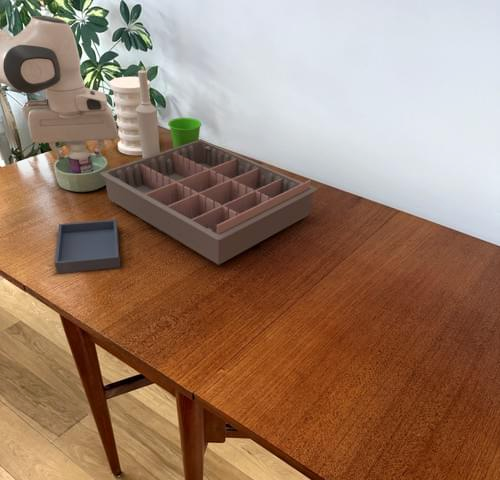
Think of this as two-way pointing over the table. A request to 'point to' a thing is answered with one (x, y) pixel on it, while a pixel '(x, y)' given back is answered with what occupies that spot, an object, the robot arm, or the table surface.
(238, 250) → the organizer tray
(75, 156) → the pill bottle
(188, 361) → the table surface
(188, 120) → the cup
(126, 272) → the table surface
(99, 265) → the tray
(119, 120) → the decorative container
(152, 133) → the bottle
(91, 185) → the bowl
